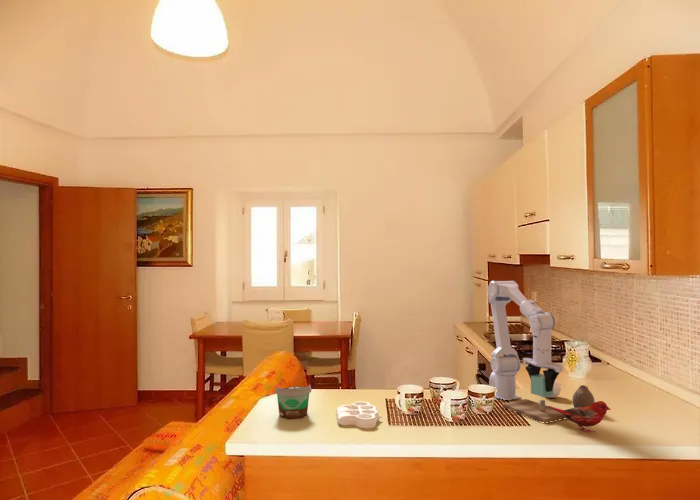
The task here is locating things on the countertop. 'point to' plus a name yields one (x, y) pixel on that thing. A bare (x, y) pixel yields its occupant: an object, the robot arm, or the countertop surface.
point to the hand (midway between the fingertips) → (542, 389)
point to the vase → (582, 397)
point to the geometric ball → (555, 389)
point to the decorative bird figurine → (585, 414)
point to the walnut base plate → (534, 410)
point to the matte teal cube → (539, 385)
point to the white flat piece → (358, 415)
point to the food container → (293, 402)
